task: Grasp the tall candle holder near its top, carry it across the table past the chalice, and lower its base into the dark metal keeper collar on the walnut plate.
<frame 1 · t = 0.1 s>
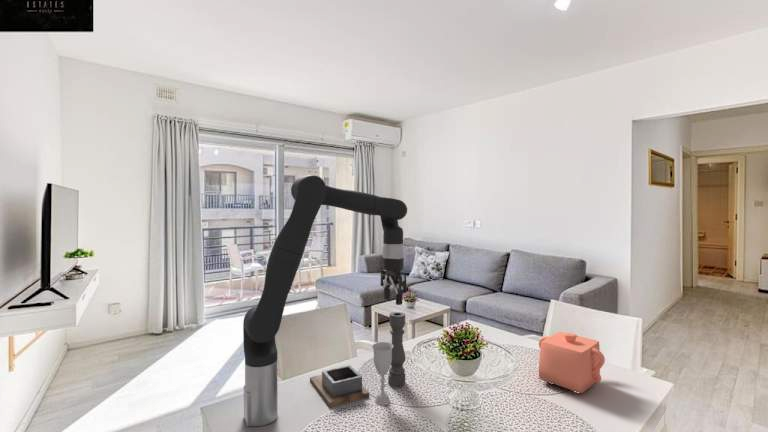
hand: (392, 301, 134), 30 cm above the table, fingers open, 8 cm apart
candle holder: (396, 383, 135), on the table
chalice: (382, 401, 123), on the table
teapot: (573, 380, 139), on the table
keeper plate: (338, 388, 131), on the table
keeper collar: (341, 392, 128), resting on keeper plate
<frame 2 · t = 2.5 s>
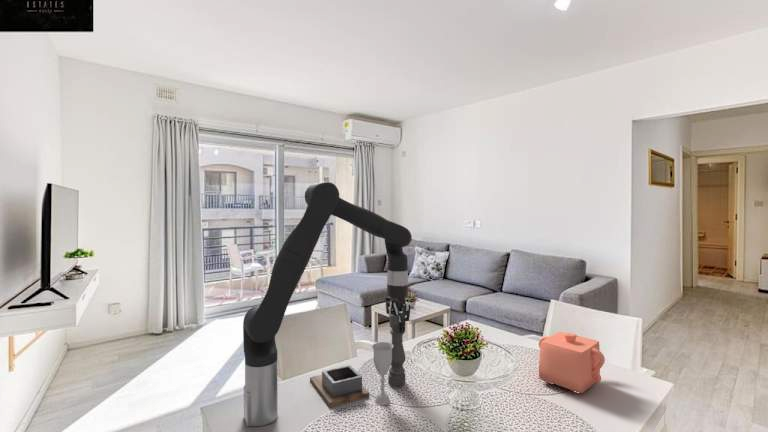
hand: (397, 329, 135), 20 cm above the table, fingers closed on candle holder, 5 cm apart
candle holder: (396, 383, 135), on the table, touching gripper
everything else where it was.
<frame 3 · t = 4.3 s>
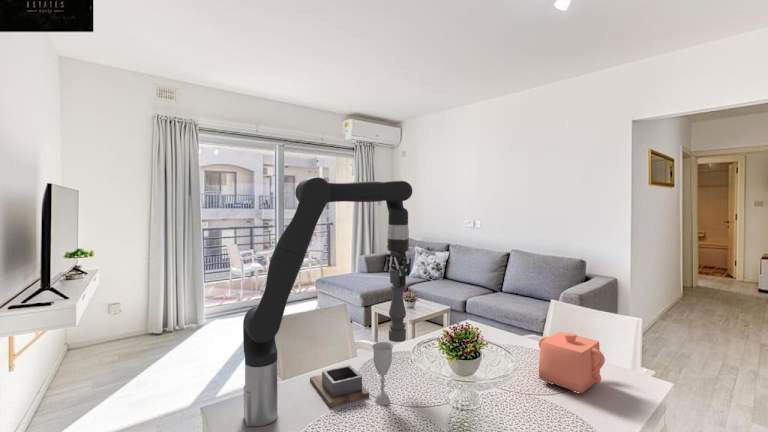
hand: (397, 284, 135), 36 cm above the table, fingers closed on candle holder, 5 cm apart
candle holder: (397, 339, 135), point 16 cm above the table, touching gripper
everything else where it was.
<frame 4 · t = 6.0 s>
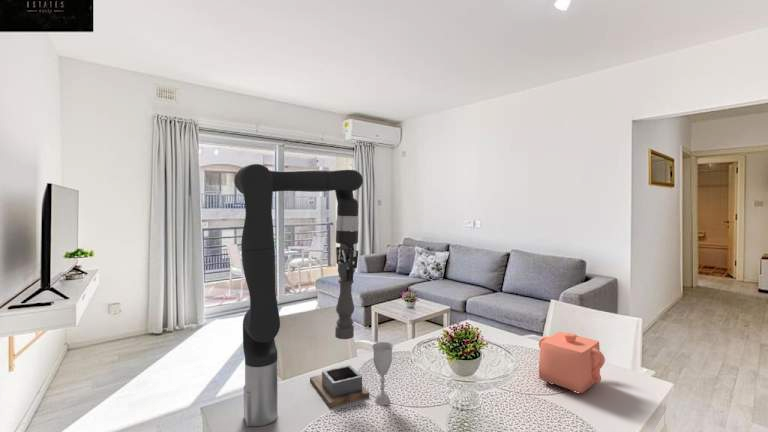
hand: (345, 278, 128), 39 cm above the table, fingers closed on candle holder, 5 cm apart
candle holder: (344, 336, 128), point 19 cm above the table, touching gripper
everything else where it was.
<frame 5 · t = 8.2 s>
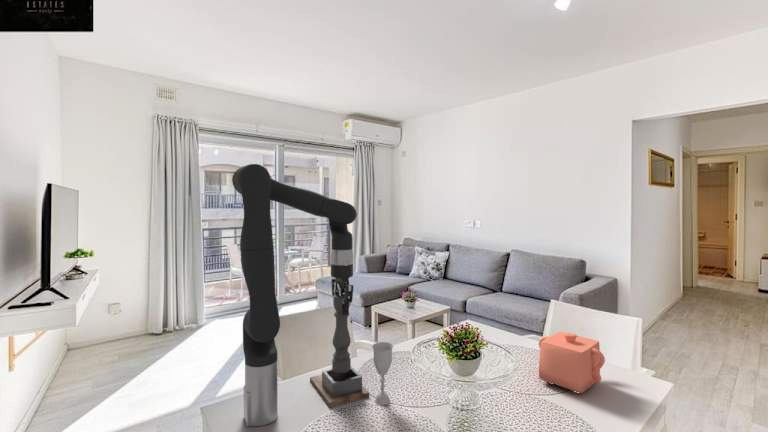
hand: (341, 311, 128), 28 cm above the table, fingers closed on candle holder, 5 cm apart
candle holder: (341, 369, 128), point 8 cm above the table, touching gripper
everything else where it was.
when the fingers open (22 cm above the table, at t = 9.8 s): candle holder drops 1 cm, resting on keeper plate.
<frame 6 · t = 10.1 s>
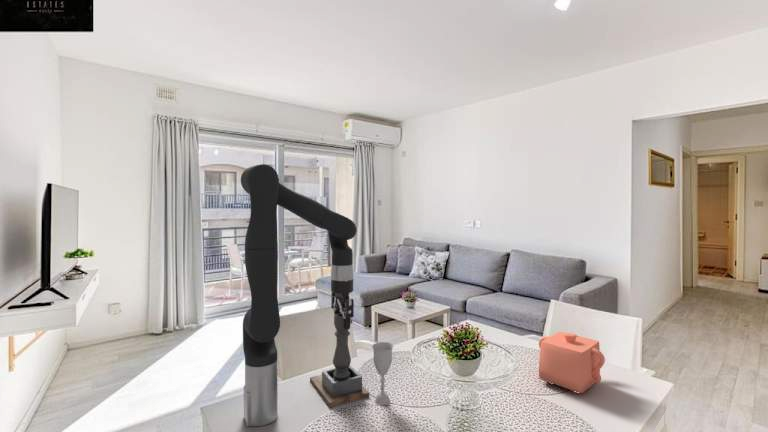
hand: (341, 325, 128), 23 cm above the table, fingers open, 7 cm apart
candle holder: (341, 388, 128), point 1 cm above the table, touching keeper plate
everything else where it was.
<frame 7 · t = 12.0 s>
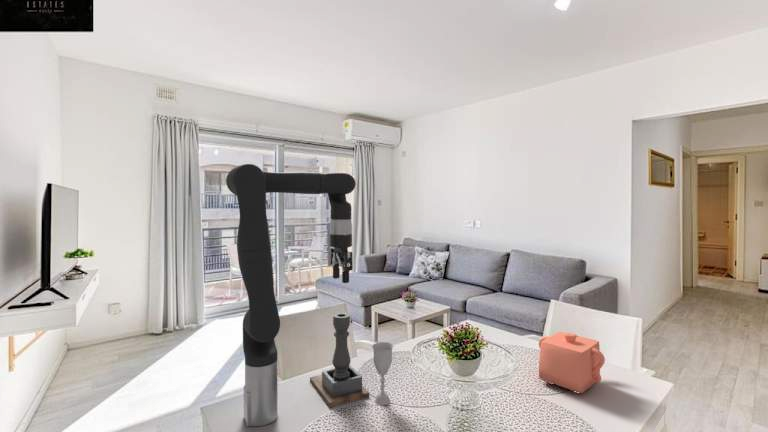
hand: (340, 280, 128), 38 cm above the table, fingers open, 8 cm apart
nothing on the table moved.
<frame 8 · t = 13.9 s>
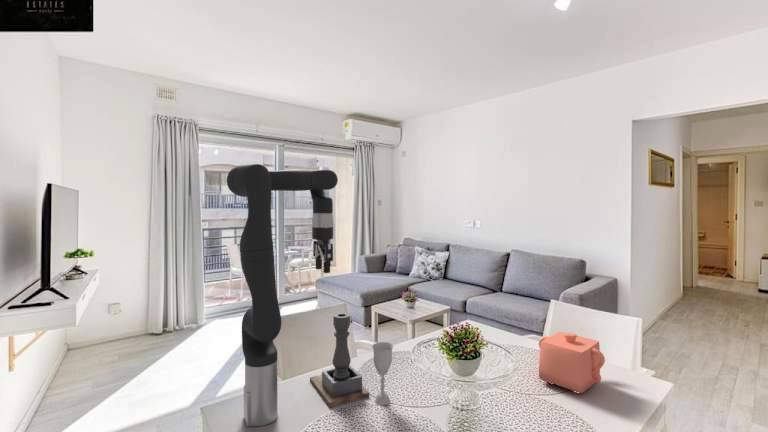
hand: (322, 271, 136), 40 cm above the table, fingers open, 8 cm apart
nothing on the table moved.
at the end: candle holder 0.1 cm off-centre on the keeper collar, point 1.3 cm above the keeper collar's base; candle holder tilted 0°; the gripper is holding nothing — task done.
